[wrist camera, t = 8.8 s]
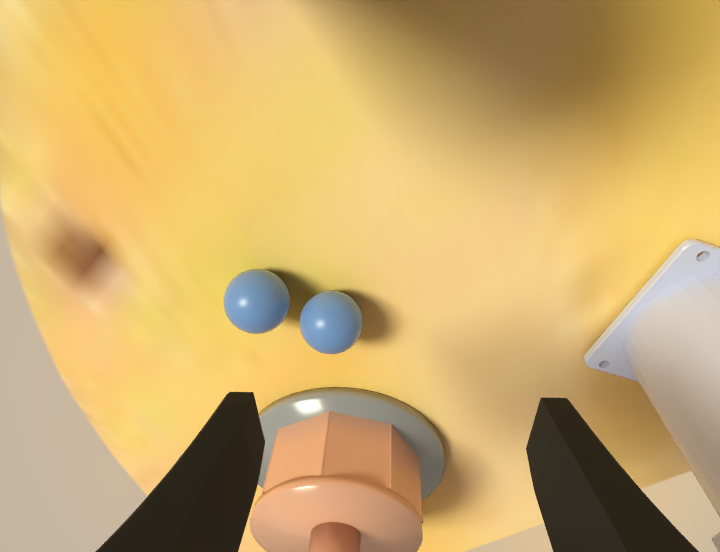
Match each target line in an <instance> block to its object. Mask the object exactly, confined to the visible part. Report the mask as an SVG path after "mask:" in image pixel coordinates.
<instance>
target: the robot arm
mask: <svg viewBox="0 0 720 552" xmlns="http://www.w3.org/2000/svg"><path fill="white" fill-rule="evenodd" d="M703 251H704V252H703ZM700 252H703V254H701V255H700V256H697V255H698V254H699V253H700ZM583 360H584V362H585V364H586V366H587V367H589V368H593V369H596V370H600V371H603V372H606V373H610V374H613V375H617V376H620V377H624V378H627V379H630V380H634V381H637V382H639V383H640V385H641V387H642V388H643V390H644V392H645V393H646V395H647V397H648V398H649V400H650V402H651V403H652V405H653V407H654V408H655V410H656V412H657V413H658V415H659V417H660V418H661V420H662V422H663V423H664V425H665V427H666V428H667V430H668V432H669V433H670V435H671V437H672V438H673V440H674V442H675V443H676V445H677V447H678V448H679V450H680V452H681V453H682V455H683V457H684V458H685V460H686V462H687V463H688V465H689V467H690V468H691V470H692V472H693V473H694V475H695V477H696V478H697V480H698V481H699V483H700V485H701V487H702V488H703V490H704V492H705V493H706V495H707V497H708V498H709V500H710V501H711V503H712V505H713V506H714V508H715V509H716V512H717V513H718V515H719V517H720V247H717V246H714V245H712V244H709V243H706V242H703V241H700V240H697V239H689V240H686V241H684V242H682V243H681V244H680V245H679V246H678V247H677V248H676V249H675V251H674V252H673V253H672V254H671V255H670V256H669V258H668V259H667V260H666V261H665V262H664V263H663V264H662V266H661V267H660V268H659V269H658V270H657V271H656V273H655V274H654V275H653V276H652V277H651V278H650V280H649V281H648V282H647V283H646V284H645V285H644V286H643V288H642V289H641V290H640V291H639V292H638V293H637V295H636V296H635V297H634V298H633V299H632V300H631V302H630V303H629V304H628V305H627V306H626V307H625V308H624V310H623V311H622V312H621V313H620V314H619V315H618V317H617V318H616V319H615V320H614V321H613V322H612V324H611V325H610V326H609V327H608V328H607V329H606V330H605V332H604V333H603V334H602V335H601V336H600V337H599V339H598V340H597V341H596V342H595V343H594V344H593V346H592V347H591V348H590V349H589V350H588V351H587V352H586V354H585V355H584V357H583ZM602 361H604V362H602ZM264 447H265V439H264V435H263V431H262V426H261V422H260V418H259V414H258V410H257V406H256V402H255V398H254V394H253V392H229V393H228V394H227V395H226V396H225V398H224V399H223V401H222V402H221V403H220V405H219V406H218V408H217V409H216V410H215V412H214V413H213V415H212V416H211V417H210V419H209V420H208V422H207V423H206V424H205V426H204V427H203V428H202V430H201V431H200V432H199V434H198V435H197V436H196V438H195V439H194V440H193V442H192V443H191V444H190V446H189V447H188V448H187V449H186V451H185V452H184V453H183V454H182V456H181V457H180V458H179V460H178V461H177V462H176V463H175V465H174V466H173V467H172V468H171V470H170V471H169V472H168V473H167V474H166V476H165V477H164V478H163V479H162V480H161V481H160V483H159V484H158V485H157V486H156V487H155V488H154V490H153V491H152V492H151V493H150V494H149V495H148V497H147V498H146V499H145V500H144V501H143V502H142V504H141V505H140V506H139V507H138V508H137V509H136V510H135V511H134V512H133V514H132V515H131V516H130V517H129V518H128V519H127V520H126V521H125V522H124V523H123V524H122V525H121V526H120V527H119V529H118V530H116V532H115V533H114V534H113V535H112V536H111V537H110V538H109V539H108V540H107V541H106V542H105V543H104V544H103V545H102V546H101V547H100V548H99V549H98V550H97V551H96V552H238V550H239V546H240V543H241V540H242V536H243V533H244V529H245V526H246V523H247V519H248V516H249V512H250V509H251V506H252V502H253V499H254V495H255V492H256V488H257V485H258V481H259V475H260V470H261V464H262V459H263V453H264ZM526 450H527V455H528V461H529V466H530V472H531V477H532V481H533V486H534V491H535V494H536V498H537V501H538V504H539V507H540V510H541V514H542V517H543V520H544V523H545V526H546V529H547V533H548V536H549V539H550V542H551V545H552V549H553V551H554V552H699V551H698V550H697V549H696V548H695V547H694V546H692V544H691V543H690V542H689V541H688V540H687V539H686V538H685V537H684V536H683V535H682V534H681V533H680V532H679V531H678V530H677V529H676V528H675V527H674V526H673V525H672V524H671V522H670V521H669V520H668V519H667V518H666V517H665V516H664V515H663V514H662V513H661V512H660V510H659V509H658V508H657V507H656V506H655V505H654V504H653V503H652V502H651V501H650V499H649V498H648V497H647V496H646V495H645V494H644V493H643V492H642V490H641V489H640V488H639V487H638V486H637V485H636V483H635V482H634V481H633V480H632V479H631V478H630V476H629V475H628V474H627V473H626V472H625V470H624V469H623V468H622V467H621V466H620V465H619V463H618V462H617V461H616V460H615V459H614V457H613V456H612V455H611V454H610V452H609V451H608V450H607V449H606V447H605V446H604V445H603V444H602V442H601V441H600V440H599V439H598V437H597V436H596V435H595V434H594V432H593V431H592V430H591V429H590V427H589V426H588V425H587V423H586V422H585V421H584V419H583V418H582V417H581V416H580V414H579V413H578V412H577V410H576V409H575V408H574V406H573V405H572V404H571V403H570V401H569V400H568V399H567V398H541V399H540V402H539V406H538V409H537V413H536V416H535V420H534V423H533V427H532V430H531V434H530V437H529V441H528V444H527V448H526ZM712 541H713V543H714V544H715V546H716V548H717V550H718V552H720V532H719V533H718V534H717V535H715V536H714V537H713V538H712Z"/></svg>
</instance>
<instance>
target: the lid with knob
mask: <svg viewBox="0 0 720 552" xmlns="http://www.w3.org/2000/svg"><path fill="white" fill-rule="evenodd" d="M422 523H423V510H422V494H421V478H420V462H419V457H418V456H417V455H416V454H415V452H414V451H413V450H412V449H411V448H410V446H409V445H408V444H407V443H406V442H405V440H404V439H403V438H402V437H401V435H400V434H399V433H398V432H397V431H396V429H395V428H394V427H393V426H392V424H389V423H384V422H380V421H375V420H370V419H365V418H361V417H356V416H351V415H346V414H342V413H337V412H332V411H328V412H325V413H322V414H319V415H316V416H314V417H311V418H308V419H305V420H302V421H299V422H296V423H294V424H291V425H288V426H285V427H282V428H279V429H277V433H276V437H275V442H274V446H273V450H272V454H271V458H270V463H269V465H268V469H267V474H266V478H265V482H264V486H263V490H262V494H261V496H260V497H259V498H258V500H257V501H256V503H255V505H254V508H253V511H252V515H251V520H250V529H251V532H252V535H253V537H254V538H255V540H256V541H257V543H258V544H259V545H260V546H261V547H262V548H263V549H265V550H266V551H267V552H417V550H418V549H419V547H420V545H421V542H422Z"/></svg>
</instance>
